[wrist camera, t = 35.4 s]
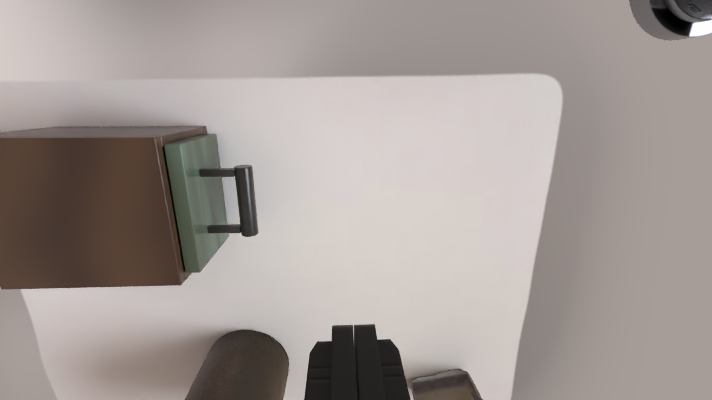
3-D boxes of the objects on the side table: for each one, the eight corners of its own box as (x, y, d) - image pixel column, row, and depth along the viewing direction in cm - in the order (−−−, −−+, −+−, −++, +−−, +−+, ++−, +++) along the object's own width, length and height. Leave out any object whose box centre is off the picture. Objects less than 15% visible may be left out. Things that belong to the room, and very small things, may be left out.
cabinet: (206, 126, 31) (154, 137, 23) (220, 238, 35) (181, 285, 26) (57, 126, 31) (-55, 137, 22) (87, 240, 34) (0, 289, 25)
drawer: (262, 133, 31) (239, 144, 24) (270, 235, 34) (252, 271, 27) (77, 134, 30) (-3, 145, 23) (102, 238, 33) (39, 276, 26)
